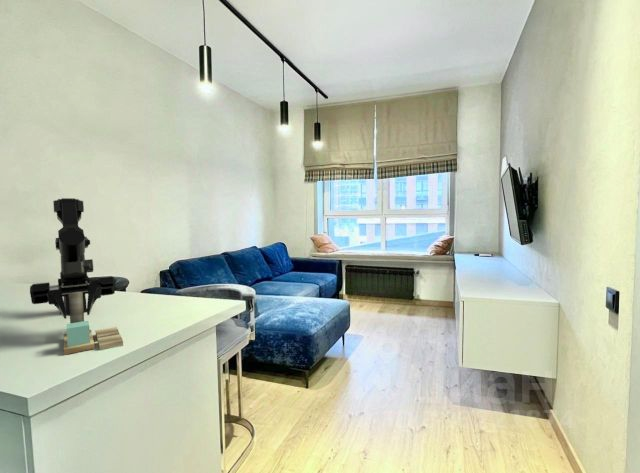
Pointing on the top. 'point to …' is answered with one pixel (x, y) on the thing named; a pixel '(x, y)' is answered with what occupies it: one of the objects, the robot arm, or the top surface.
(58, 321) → the top surface
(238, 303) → the top surface
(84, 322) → the cube
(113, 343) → the beige rectangular block
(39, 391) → the top surface
